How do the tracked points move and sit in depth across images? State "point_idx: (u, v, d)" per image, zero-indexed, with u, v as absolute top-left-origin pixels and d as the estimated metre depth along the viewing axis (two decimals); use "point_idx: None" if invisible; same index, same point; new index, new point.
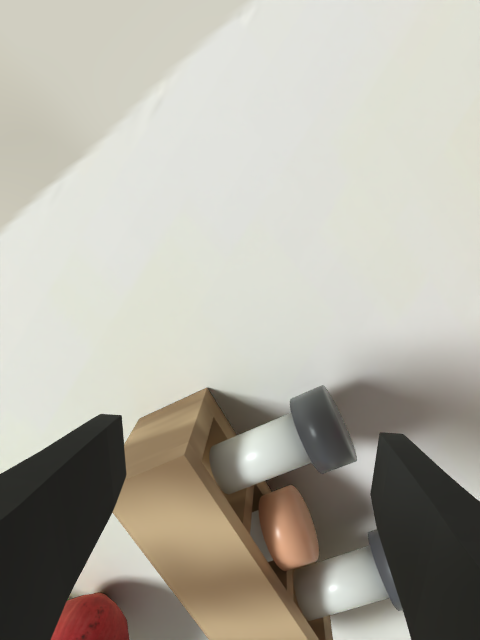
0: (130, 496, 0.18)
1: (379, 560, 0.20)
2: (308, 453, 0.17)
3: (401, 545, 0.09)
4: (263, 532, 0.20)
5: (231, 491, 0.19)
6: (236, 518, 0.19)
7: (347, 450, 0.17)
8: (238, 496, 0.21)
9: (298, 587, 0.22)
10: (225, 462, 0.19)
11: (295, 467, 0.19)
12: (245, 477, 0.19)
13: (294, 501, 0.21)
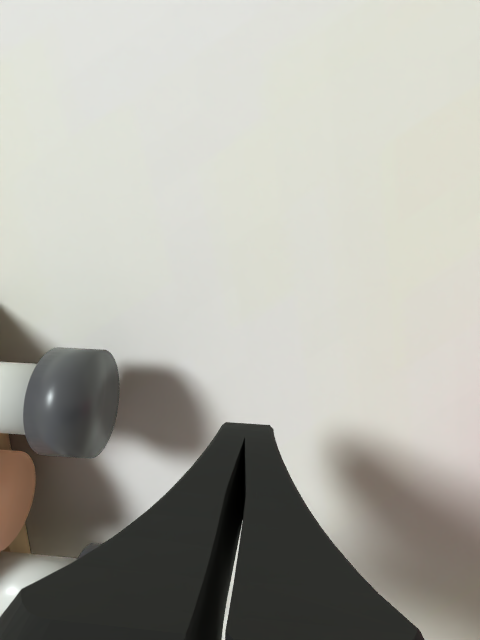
0: None
1: None
2: (24, 421, 0.12)
3: None
4: None
5: None
6: None
7: (76, 440, 0.12)
8: None
9: None
10: None
11: (13, 432, 0.14)
12: None
13: (11, 472, 0.16)
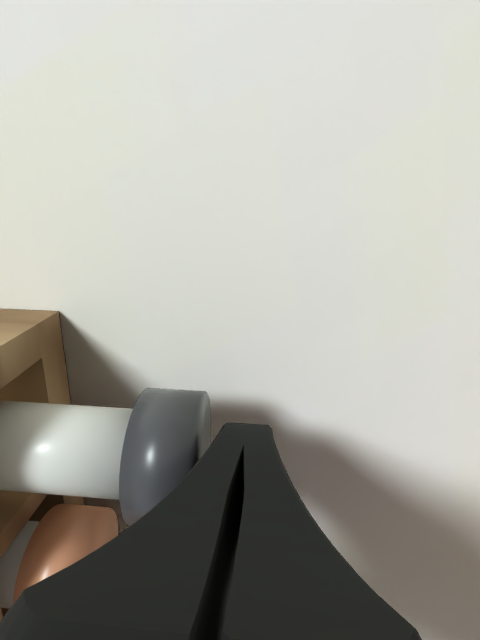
0: None
1: None
2: (121, 491, 0.10)
3: None
4: (20, 570, 0.12)
5: None
6: None
7: None
8: (16, 493, 0.13)
9: None
10: None
11: (96, 496, 0.11)
12: (4, 477, 0.11)
13: (99, 535, 0.13)
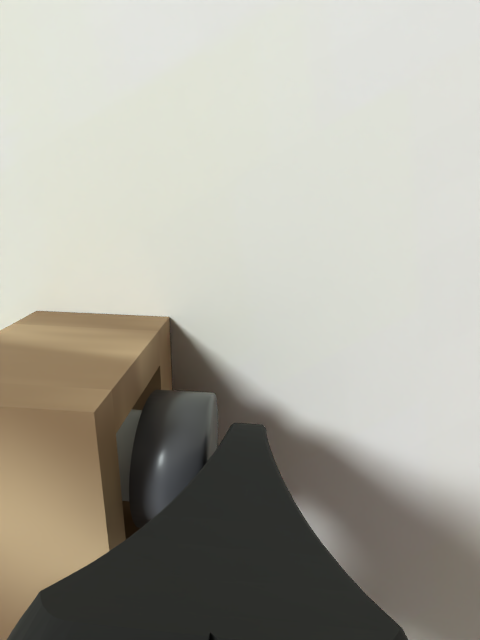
0: None
1: None
2: (131, 493, 0.10)
3: None
4: None
5: None
6: None
7: None
8: None
9: None
10: None
11: None
12: None
13: None
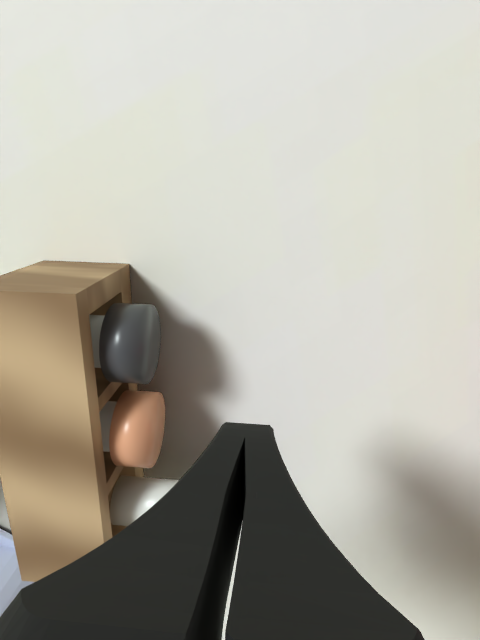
0: None
1: None
2: (100, 351, 0.17)
3: None
4: (113, 418, 0.19)
5: None
6: (94, 388, 0.17)
7: (137, 366, 0.17)
8: None
9: (118, 489, 0.21)
10: None
11: None
12: None
13: (157, 407, 0.20)
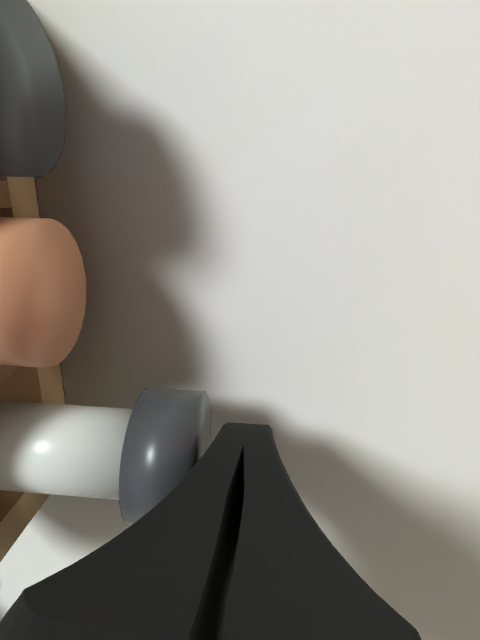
0: None
1: (138, 421, 0.10)
2: None
3: None
4: None
5: None
6: None
7: None
8: None
9: None
10: None
11: None
12: None
13: (56, 252, 0.10)
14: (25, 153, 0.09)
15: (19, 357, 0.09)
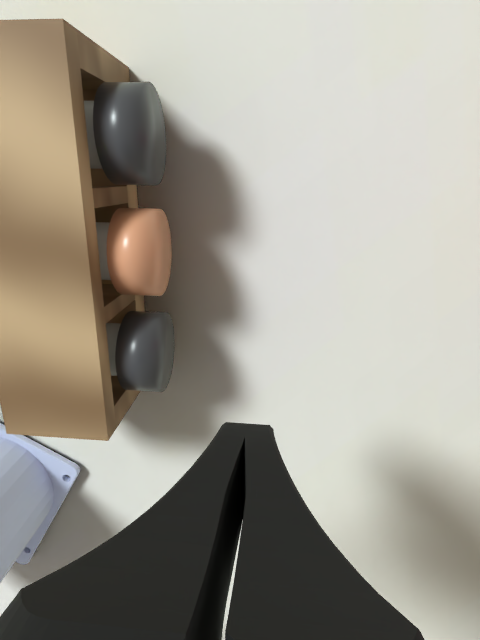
0: None
1: (126, 323, 0.18)
2: (94, 120, 0.14)
3: None
4: (111, 223, 0.16)
5: None
6: (88, 171, 0.15)
7: (139, 140, 0.14)
8: None
9: None
10: None
11: None
12: None
13: (162, 228, 0.17)
14: (153, 172, 0.16)
15: (148, 286, 0.16)
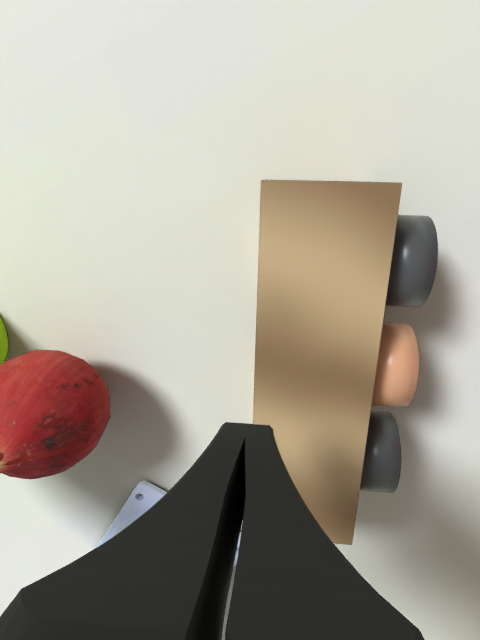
0: (297, 207, 0.14)
1: None
2: (393, 261, 0.15)
3: None
4: None
5: None
6: None
7: (433, 279, 0.15)
8: None
9: None
10: None
11: None
12: None
13: None
14: None
15: (406, 402, 0.17)
